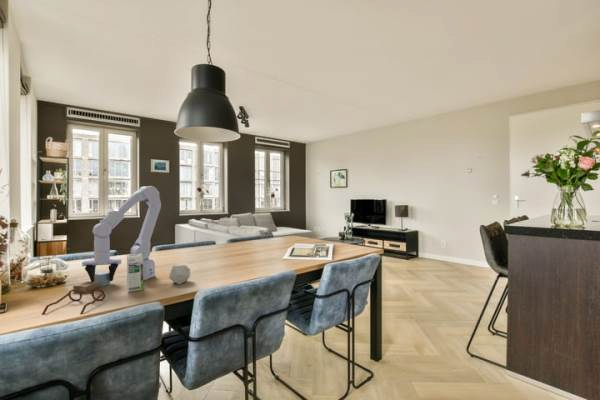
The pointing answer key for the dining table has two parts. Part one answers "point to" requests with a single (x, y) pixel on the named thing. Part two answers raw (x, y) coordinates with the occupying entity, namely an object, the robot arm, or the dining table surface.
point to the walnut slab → (86, 286)
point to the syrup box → (134, 272)
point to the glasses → (79, 298)
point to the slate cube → (102, 278)
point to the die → (179, 273)
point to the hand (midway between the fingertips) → (102, 281)
